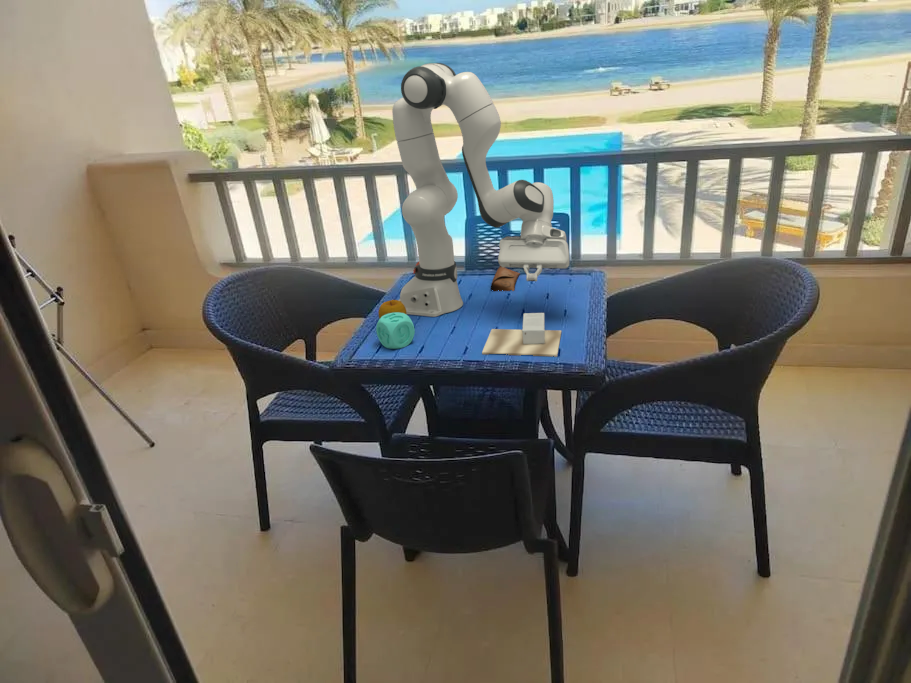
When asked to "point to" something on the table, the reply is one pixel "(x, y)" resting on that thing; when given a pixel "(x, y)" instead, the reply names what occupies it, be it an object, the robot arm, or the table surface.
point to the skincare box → (533, 328)
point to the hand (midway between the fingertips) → (531, 280)
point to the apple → (391, 307)
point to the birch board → (521, 343)
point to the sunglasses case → (504, 280)
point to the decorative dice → (395, 330)
